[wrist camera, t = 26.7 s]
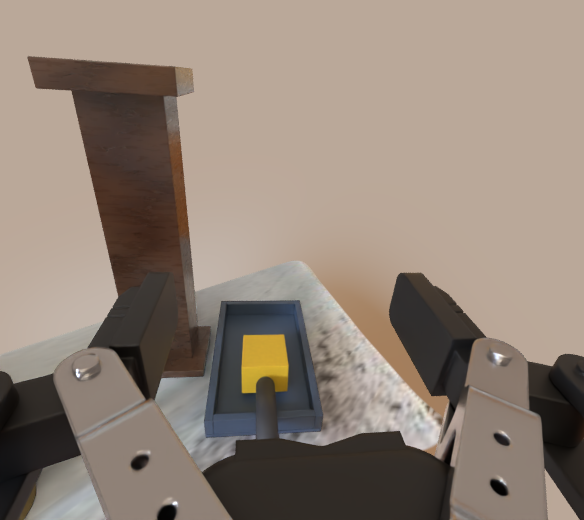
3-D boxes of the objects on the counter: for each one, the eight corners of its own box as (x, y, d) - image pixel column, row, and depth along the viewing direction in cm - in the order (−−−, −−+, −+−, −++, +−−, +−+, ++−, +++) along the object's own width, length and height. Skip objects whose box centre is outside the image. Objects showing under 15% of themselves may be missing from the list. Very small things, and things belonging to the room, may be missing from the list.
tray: (205, 437, 33) (204, 421, 32) (221, 314, 50) (221, 300, 49) (320, 431, 34) (323, 415, 33) (298, 313, 52) (299, 300, 50)
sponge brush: (237, 483, 27) (236, 452, 26) (243, 358, 42) (243, 334, 41) (298, 479, 28) (300, 448, 26) (283, 357, 43) (284, 334, 41)
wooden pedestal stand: (114, 379, 39) (26, 56, 23) (136, 333, 46) (78, 60, 30) (203, 376, 40) (174, 66, 24) (211, 331, 47) (192, 68, 31)
